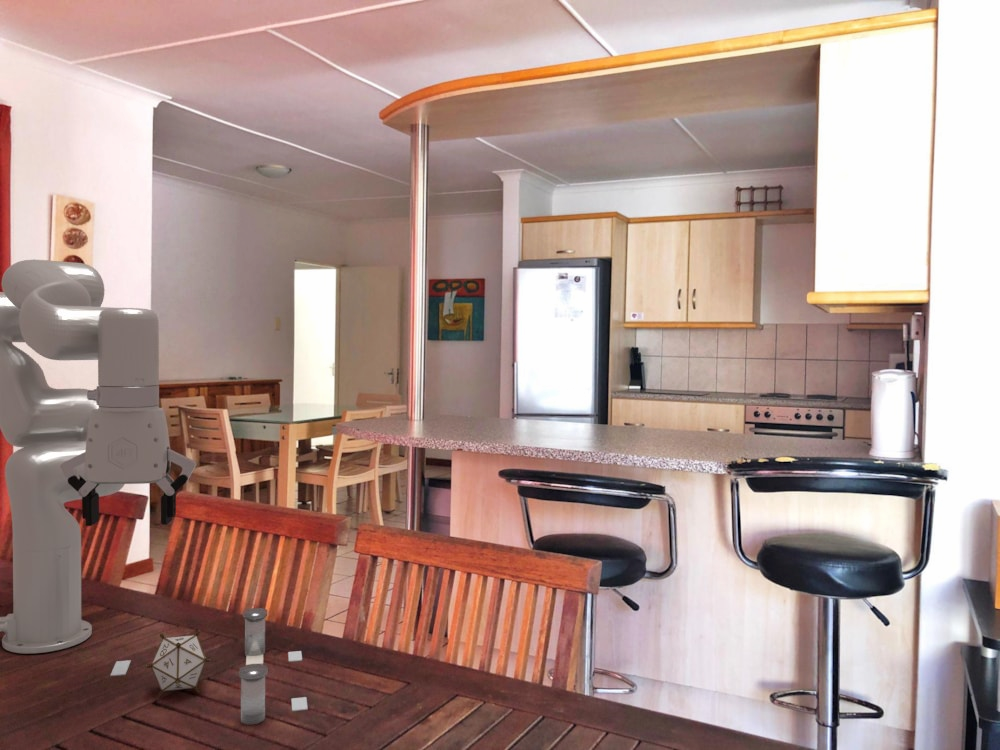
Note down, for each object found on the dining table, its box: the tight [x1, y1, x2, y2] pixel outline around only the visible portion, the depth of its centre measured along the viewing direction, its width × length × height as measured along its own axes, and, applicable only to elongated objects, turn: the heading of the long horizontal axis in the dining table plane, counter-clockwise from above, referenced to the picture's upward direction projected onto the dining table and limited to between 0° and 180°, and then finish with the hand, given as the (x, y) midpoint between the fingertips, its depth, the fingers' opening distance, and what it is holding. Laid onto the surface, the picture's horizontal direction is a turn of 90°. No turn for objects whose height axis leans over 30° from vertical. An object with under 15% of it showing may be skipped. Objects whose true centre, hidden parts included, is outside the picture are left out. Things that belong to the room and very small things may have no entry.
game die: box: [144, 629, 213, 698], centre depth 113 cm, size 9×8×10 cm
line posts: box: [238, 607, 269, 726], centre depth 116 cm, size 4×26×7 cm, turn 16°
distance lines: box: [110, 650, 309, 712], centre depth 115 cm, size 27×22×1 cm
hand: (129, 523), depth 111 cm, fingers open, 9 cm apart
